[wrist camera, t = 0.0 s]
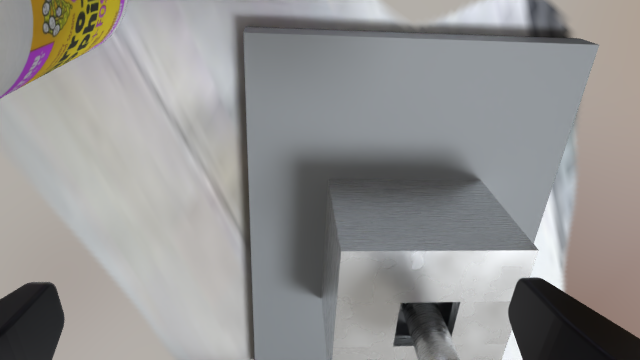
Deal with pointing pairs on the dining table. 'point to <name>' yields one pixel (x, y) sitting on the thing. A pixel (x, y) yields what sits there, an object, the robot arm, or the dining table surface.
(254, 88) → the board
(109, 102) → the dining table surface
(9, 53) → the supplement bottle
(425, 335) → the plunger
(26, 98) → the dining table surface
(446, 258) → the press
